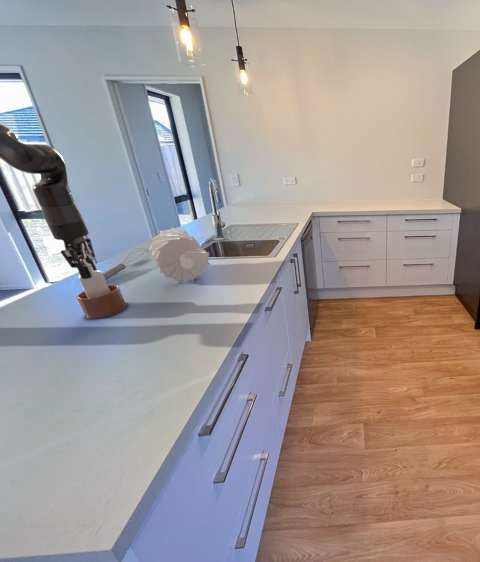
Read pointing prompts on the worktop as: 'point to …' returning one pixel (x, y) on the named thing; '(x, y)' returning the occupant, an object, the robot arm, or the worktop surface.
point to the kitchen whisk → (121, 266)
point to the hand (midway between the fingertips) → (90, 275)
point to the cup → (102, 303)
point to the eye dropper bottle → (94, 283)
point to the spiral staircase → (179, 255)
